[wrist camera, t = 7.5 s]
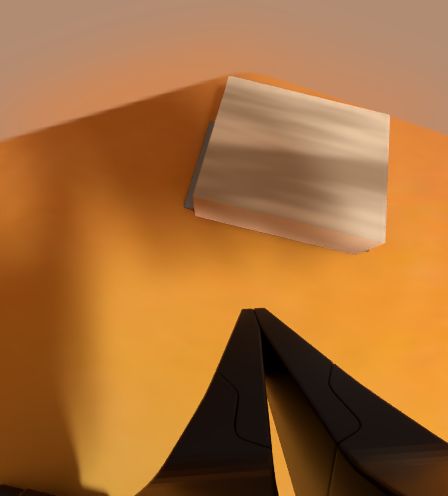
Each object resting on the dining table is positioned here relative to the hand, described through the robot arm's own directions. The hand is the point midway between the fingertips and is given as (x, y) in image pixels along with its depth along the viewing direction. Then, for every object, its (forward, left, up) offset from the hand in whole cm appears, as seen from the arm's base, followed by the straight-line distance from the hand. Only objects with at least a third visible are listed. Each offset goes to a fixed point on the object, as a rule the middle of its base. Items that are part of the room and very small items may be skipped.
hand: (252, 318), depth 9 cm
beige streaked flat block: (+6, -2, -5) cm, 8 cm away
